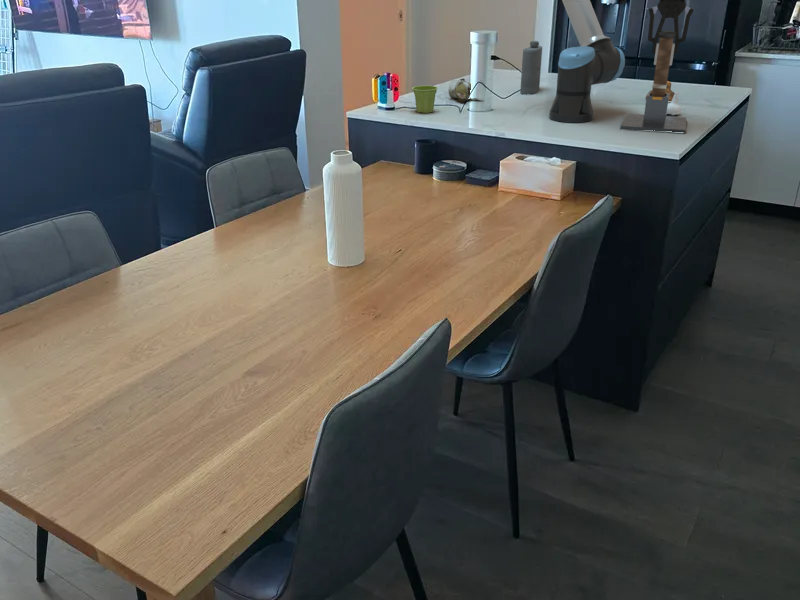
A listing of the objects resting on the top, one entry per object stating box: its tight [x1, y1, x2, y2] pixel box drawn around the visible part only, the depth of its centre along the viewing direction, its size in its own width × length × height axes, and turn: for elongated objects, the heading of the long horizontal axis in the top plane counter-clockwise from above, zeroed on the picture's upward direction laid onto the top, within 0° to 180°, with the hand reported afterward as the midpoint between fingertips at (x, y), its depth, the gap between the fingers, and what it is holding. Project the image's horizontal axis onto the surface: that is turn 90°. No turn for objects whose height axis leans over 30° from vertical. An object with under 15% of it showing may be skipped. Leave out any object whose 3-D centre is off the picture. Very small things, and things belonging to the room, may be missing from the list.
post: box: [651, 30, 676, 96], centre depth 227 cm, size 6×6×22 cm
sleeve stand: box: [619, 91, 688, 133], centre depth 233 cm, size 20×20×10 cm
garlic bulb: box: [666, 91, 682, 116], centre depth 248 cm, size 6×6×8 cm
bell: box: [645, 80, 675, 101], centre depth 272 cm, size 12×12×7 cm
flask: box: [519, 40, 543, 96], centre depth 288 cm, size 15×6×20 cm, turn 155°
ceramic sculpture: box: [448, 78, 472, 102], centre depth 276 cm, size 11×9×15 cm
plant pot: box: [411, 85, 439, 114], centre depth 258 cm, size 9×9×9 cm
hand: (662, 64), depth 226 cm, fingers closed on post, 4 cm apart
